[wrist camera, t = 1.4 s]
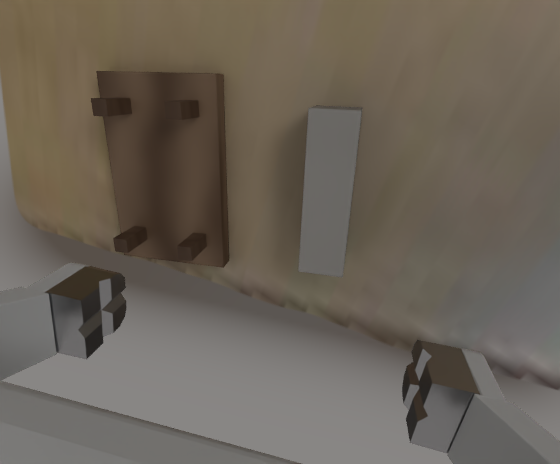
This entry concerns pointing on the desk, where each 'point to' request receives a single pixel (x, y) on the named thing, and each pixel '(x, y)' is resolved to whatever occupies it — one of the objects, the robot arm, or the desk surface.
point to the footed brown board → (167, 163)
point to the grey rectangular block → (328, 187)
